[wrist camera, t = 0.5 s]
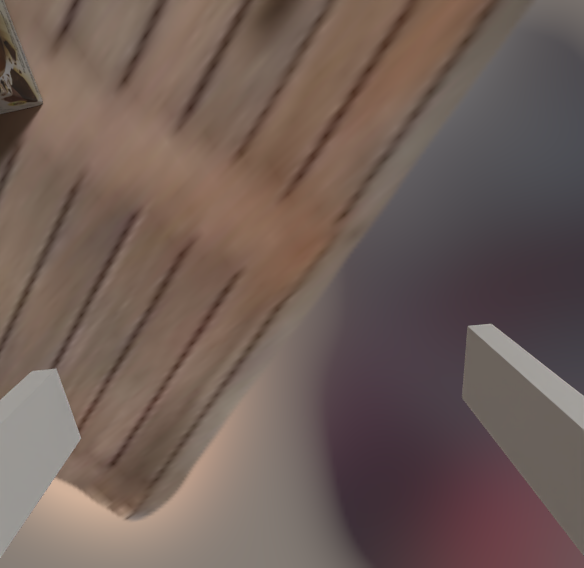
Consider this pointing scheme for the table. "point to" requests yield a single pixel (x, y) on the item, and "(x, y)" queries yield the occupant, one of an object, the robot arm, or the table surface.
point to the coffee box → (14, 70)
